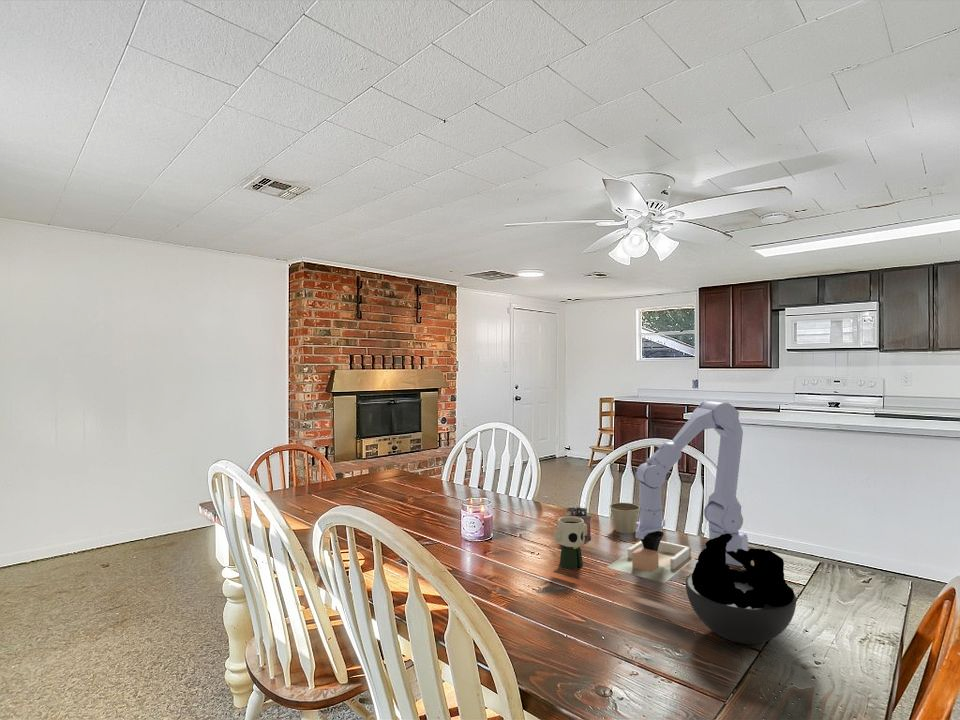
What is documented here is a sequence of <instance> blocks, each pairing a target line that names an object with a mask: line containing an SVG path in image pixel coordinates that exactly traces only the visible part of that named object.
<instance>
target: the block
mask: <svg viewBox="0 0 960 720" xmlns="http://www.w3.org/2000/svg"><path fill="white" fill-rule="evenodd" d="M657 567H659V565H658V551H654V550H650V549H645V548H641V547H640V548H639V549H637V550H635V551H634V552H632V568H636V569H640V570H644V571H647V572H652V571H653V570H654V569H656V568H657Z"/></svg>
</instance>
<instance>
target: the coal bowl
mask: <svg viewBox="0 0 960 720" xmlns="http://www.w3.org/2000/svg"><path fill="white" fill-rule="evenodd" d="M732 537H733V536H732V535H731V534H728V533H726V534H722V535H720V536H719V537H716V538H714V539H709V538H708V540H707V541H706V542H705V548H703V549H702V550H701V551H700V553H699V554H698V557H697V562H696V563H695V566H694V568H693V571H692V573H690V574H688V576H687V577H686V579H685V582H684V583H685V590H686V591H685V592H686V595H687V598H688V601H689V603H690V606H691V607H692V610H693V611H694V613H695V614H696V616H697V617H698V619H700V621H701V622H702V623H703V624H704V625H705V626H706V628H708V629H710V630H711V631H712V632H713V633H715V634H716V635H718V636H720V637H722V638H724V639H726V640H727V641H731V642H735V643H738V644H739V643H740V644H744V645H745V644H746V645H755V644H762V643H765V642H768V641H771V640H773V639H774V638H776V637H778V636H780V634H781V633H783V632H784V631H785V630H786V628H787V627H788V626H790V625H789V624H790V623H791V622H792V619H793V617H794V615H795V612H796V607H797V596H796V594H795V592H794V589H793V588H792V587H791V586H789V585H788V583H787V581H786V579H785V572H784V571H785V570H784V568H785V567H784V566H785V561H784V559H783V558H782V557H781V556H779V555H778V554H776V553H774V552H773V551H772V550H770V549H767V550H766V549H764V548H748V551H745V550H743V549H737V552H734V551H726V546H727V543H728V542H729V541H730V540H731V539H732ZM726 553H727V554H729V555H730V556H731V557H732V558H733V559H735V560H736V561H738V562H739V563H741V564H742V565H743V566H744V568H745V569H744V570H741V569H740V570H738V569H735V568H730V566H729V564H727V563H726ZM752 561H753V565H752V563H751V562H752Z"/></svg>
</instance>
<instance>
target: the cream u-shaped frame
mask: <svg viewBox="0 0 960 720" xmlns="http://www.w3.org/2000/svg"><path fill="white" fill-rule="evenodd" d="M640 547H641V548H644V547H643V544H642V542H641V540H640V541H638V542H636V543H635V544H634V545H633V544H632V545H631V546H630V547H628V548H627V554H628V558H632V552H634V551H635V550H637V549H639V548H640ZM658 550H660V551H664V552H668V553H673V554H676V555H675V556H673V557H672V558H671V559H670V568H671V569H675V568H676V567H678V566H679V565H680V564H681V563H683V562H684V561H685V560H687V559H688V558H689V557H690V556H692V548H691V547H690V546H688V545H682V544H677V543H672V542H667V541H663V540H661V541H660V543H659V547H658Z"/></svg>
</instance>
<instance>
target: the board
mask: <svg viewBox="0 0 960 720" xmlns="http://www.w3.org/2000/svg"><path fill="white" fill-rule="evenodd" d="M675 555H676V554H673V553H668V552H664V551H660V550H658V565H659V567H657V568H656V569H654V570H653V571H652V572H647V571H644V570H640V569H636V568H632V558H628V553H626V554H625V555H622V556H621V557H619V558H618V559H616V560H615V561H613V562H612V563H610V564H609V565H607V566H605V568H606V569H611V570H613V571H617V572H621V573H625V574H629V575H632V576H636V577H640V578H643V579H646V580H652V581H656V582H660V583H663V584H665V583H667V582H668V581H669V580H671V579H672V578H673V577H674V576H676V574H678V573H679V572H681V571H682V570H683V569H684V568H685V567H687V566H688V565H689V564H691V563H692V562H693V561H694V560H695V559H696V558H697V557H696V556H692V555H691V556H690V557H689V558H688V559H687V560H685V561H684V562H683V563H681V564H680V565H679V566H678V567H676V568H675V569H671V568H670V559H671V558H672V557H673V556H675Z"/></svg>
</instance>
